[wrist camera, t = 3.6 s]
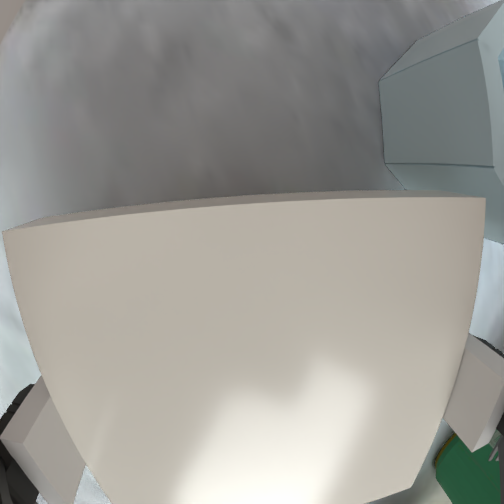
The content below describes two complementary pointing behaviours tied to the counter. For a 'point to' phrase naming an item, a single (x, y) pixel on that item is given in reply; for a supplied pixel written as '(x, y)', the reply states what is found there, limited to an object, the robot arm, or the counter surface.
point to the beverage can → (469, 472)
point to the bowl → (451, 113)
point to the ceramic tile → (252, 339)
